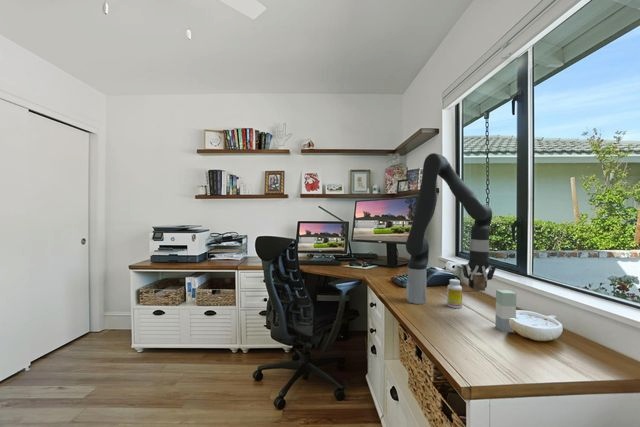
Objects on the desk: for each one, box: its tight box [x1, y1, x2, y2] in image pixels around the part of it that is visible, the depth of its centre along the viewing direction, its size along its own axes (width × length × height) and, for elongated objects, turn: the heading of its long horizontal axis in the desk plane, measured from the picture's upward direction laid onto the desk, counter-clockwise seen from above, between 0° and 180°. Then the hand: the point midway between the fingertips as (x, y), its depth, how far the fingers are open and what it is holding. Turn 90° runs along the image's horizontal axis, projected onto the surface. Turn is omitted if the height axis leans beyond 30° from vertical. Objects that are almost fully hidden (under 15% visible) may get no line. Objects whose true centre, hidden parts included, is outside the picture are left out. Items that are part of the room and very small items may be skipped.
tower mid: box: [495, 301, 517, 320], centre depth 115 cm, size 5×5×5 cm
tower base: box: [494, 314, 515, 333], centre depth 115 cm, size 5×5×5 cm
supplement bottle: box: [446, 278, 463, 309], centre depth 142 cm, size 7×7×13 cm
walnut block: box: [470, 273, 486, 292], centre depth 128 cm, size 4×4×6 cm
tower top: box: [495, 289, 517, 308], centre depth 115 cm, size 5×5×5 cm
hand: (477, 288), depth 128 cm, fingers closed on walnut block, 4 cm apart
